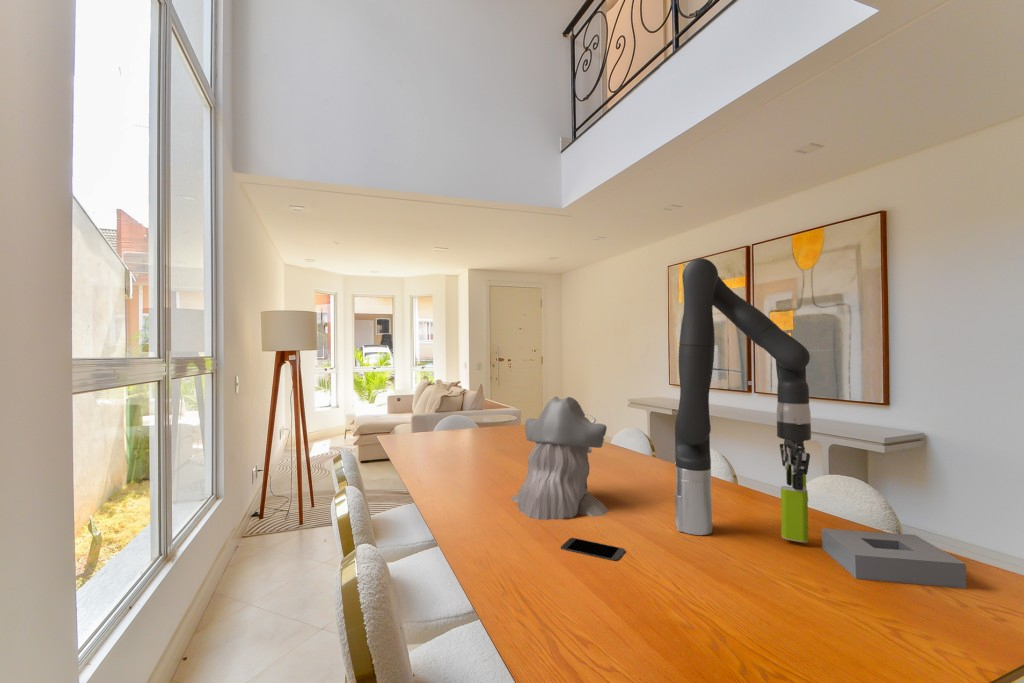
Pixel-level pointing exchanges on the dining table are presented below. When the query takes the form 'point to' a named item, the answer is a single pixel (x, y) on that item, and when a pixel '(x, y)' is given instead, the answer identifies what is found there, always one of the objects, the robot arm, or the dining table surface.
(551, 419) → the bust
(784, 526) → the vape
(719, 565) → the dining table surface
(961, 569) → the charging dock
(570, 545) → the smartphone
